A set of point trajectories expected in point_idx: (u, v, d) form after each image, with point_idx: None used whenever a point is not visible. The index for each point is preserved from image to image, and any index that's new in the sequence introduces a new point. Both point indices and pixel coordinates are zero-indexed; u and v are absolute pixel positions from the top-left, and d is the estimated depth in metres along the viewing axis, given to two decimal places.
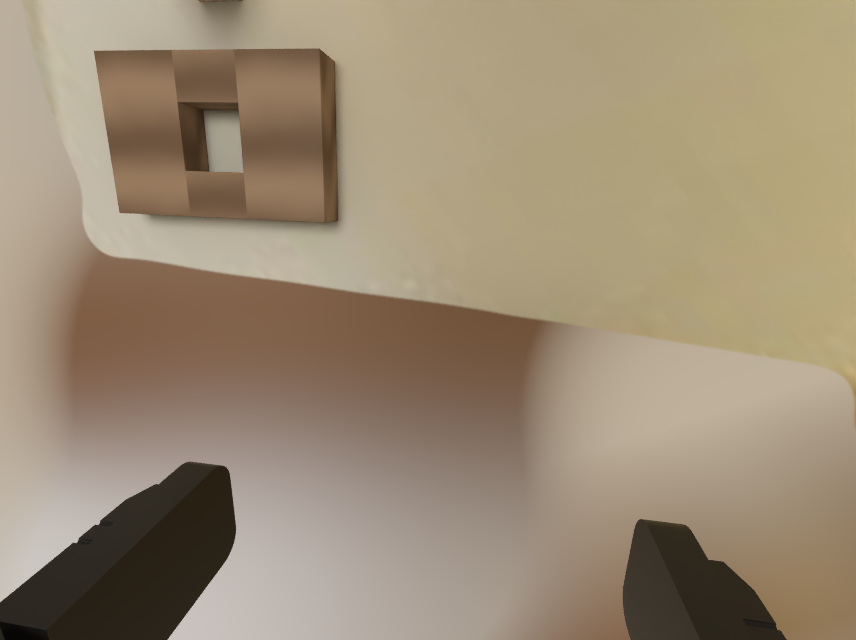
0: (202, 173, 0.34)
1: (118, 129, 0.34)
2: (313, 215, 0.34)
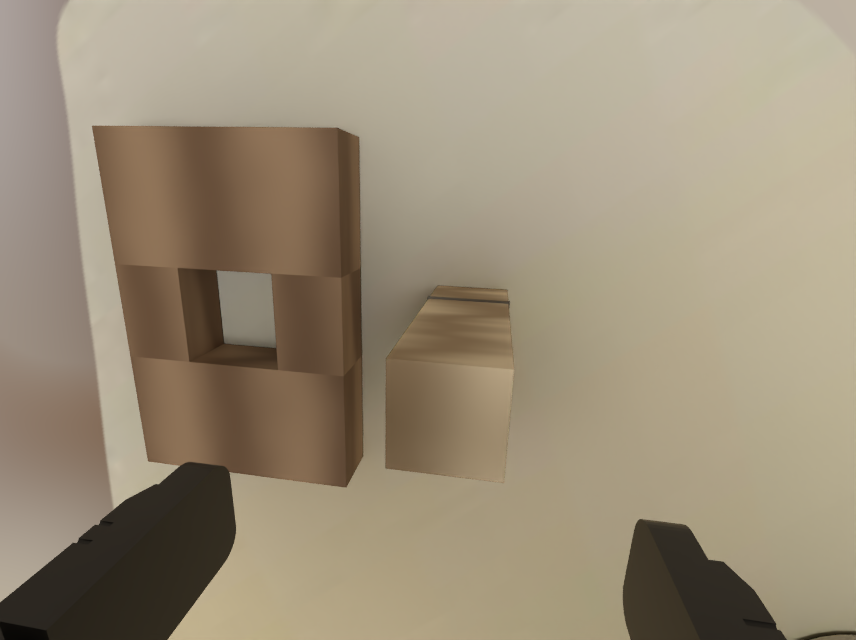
0: (178, 296, 0.22)
1: (221, 152, 0.20)
2: (153, 449, 0.25)
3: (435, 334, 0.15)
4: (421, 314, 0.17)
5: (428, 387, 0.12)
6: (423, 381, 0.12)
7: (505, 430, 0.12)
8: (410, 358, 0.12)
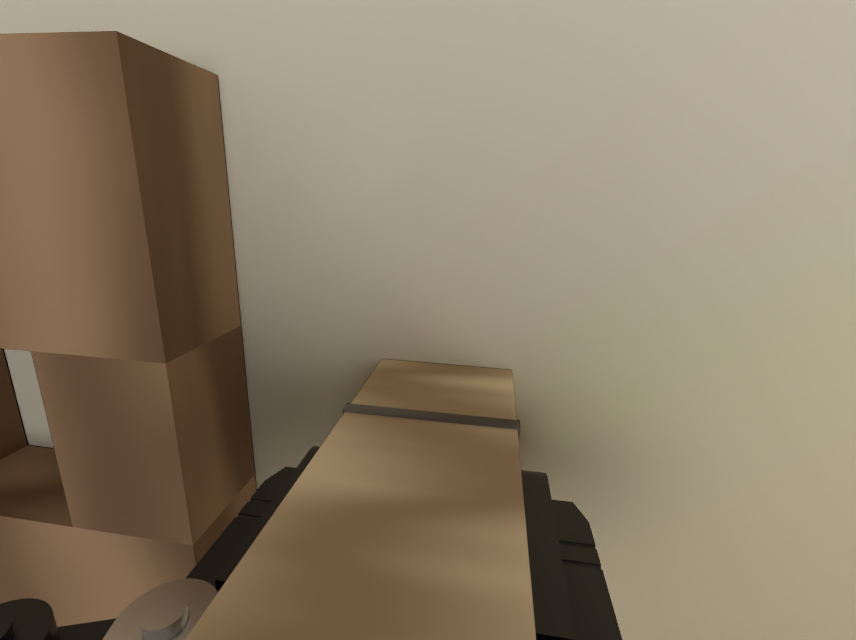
0: None
1: None
2: None
3: None
4: (291, 503, 0.06)
5: None
6: None
7: None
8: None
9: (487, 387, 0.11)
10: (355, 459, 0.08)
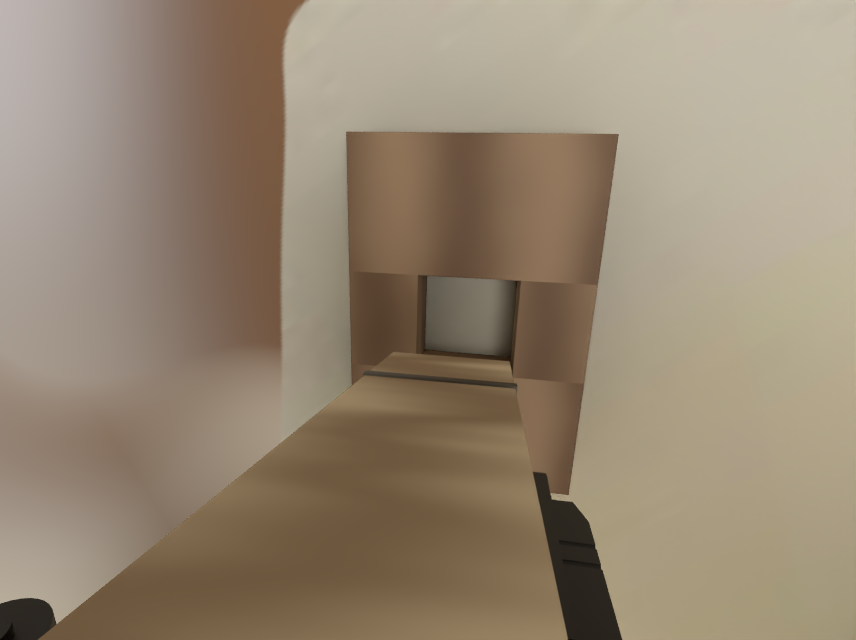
0: (414, 303, 0.22)
1: (485, 158, 0.19)
2: None
3: (325, 484, 0.05)
4: (327, 412, 0.08)
5: None
6: None
7: None
8: None
9: (488, 368, 0.12)
10: (377, 396, 0.09)
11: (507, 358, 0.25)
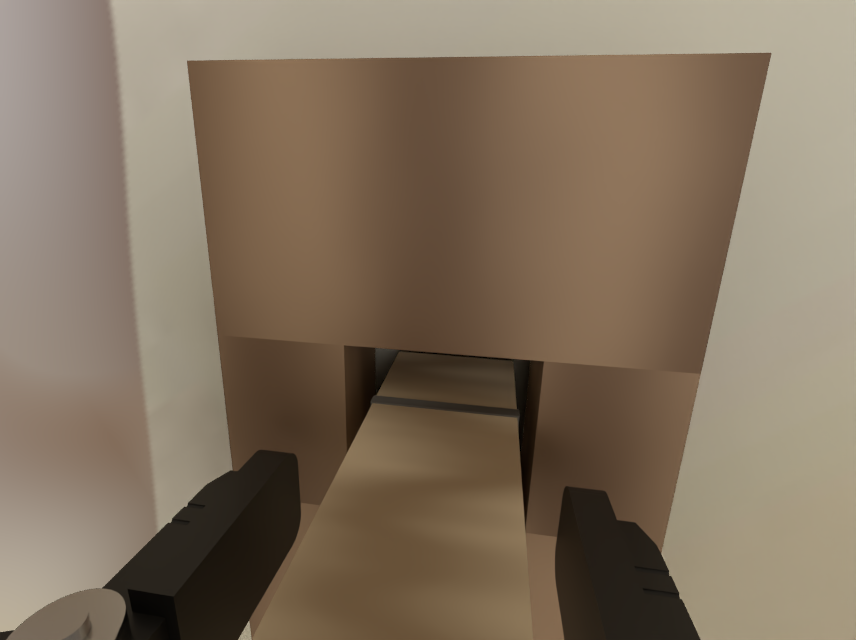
0: (340, 396, 0.12)
1: (472, 114, 0.09)
2: None
3: (344, 613, 0.06)
4: (340, 482, 0.08)
5: None
6: None
7: None
8: None
9: (491, 378, 0.12)
10: (385, 445, 0.09)
11: None
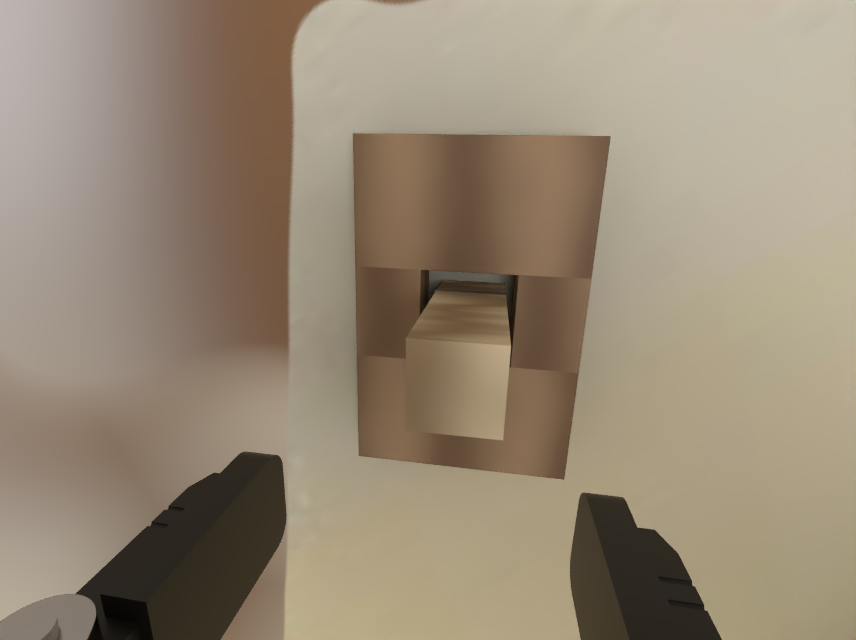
0: (417, 297, 0.23)
1: (485, 159, 0.21)
2: (367, 444, 0.26)
3: (444, 320, 0.17)
4: (430, 304, 0.20)
5: (440, 361, 0.15)
6: (436, 356, 0.15)
7: (504, 396, 0.15)
8: (425, 338, 0.15)
9: (493, 287, 0.24)
10: (446, 299, 0.21)
11: None
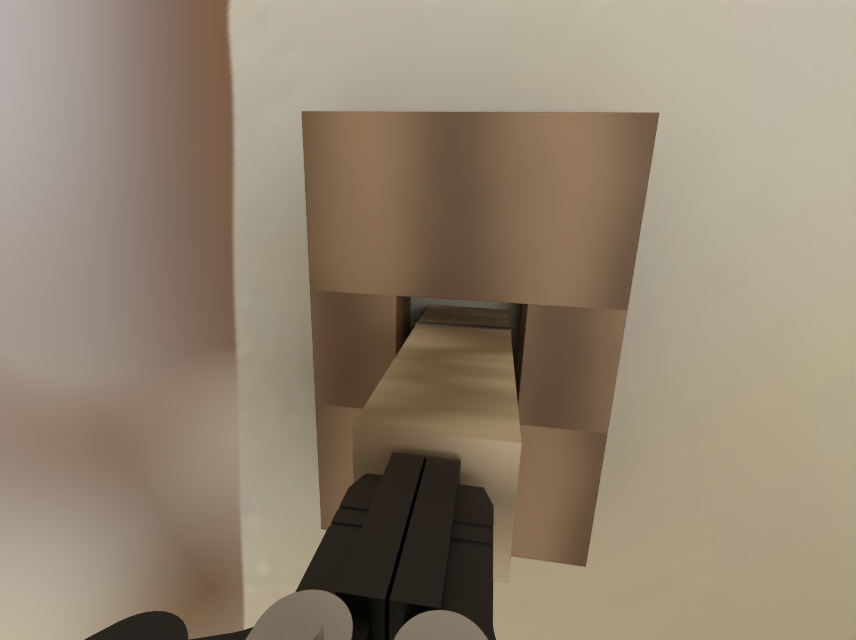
0: (392, 331, 0.17)
1: (482, 146, 0.15)
2: (331, 515, 0.20)
3: (420, 381, 0.12)
4: (405, 348, 0.14)
5: None
6: None
7: (509, 518, 0.09)
8: (384, 425, 0.09)
9: (493, 316, 0.18)
10: (429, 338, 0.15)
11: None
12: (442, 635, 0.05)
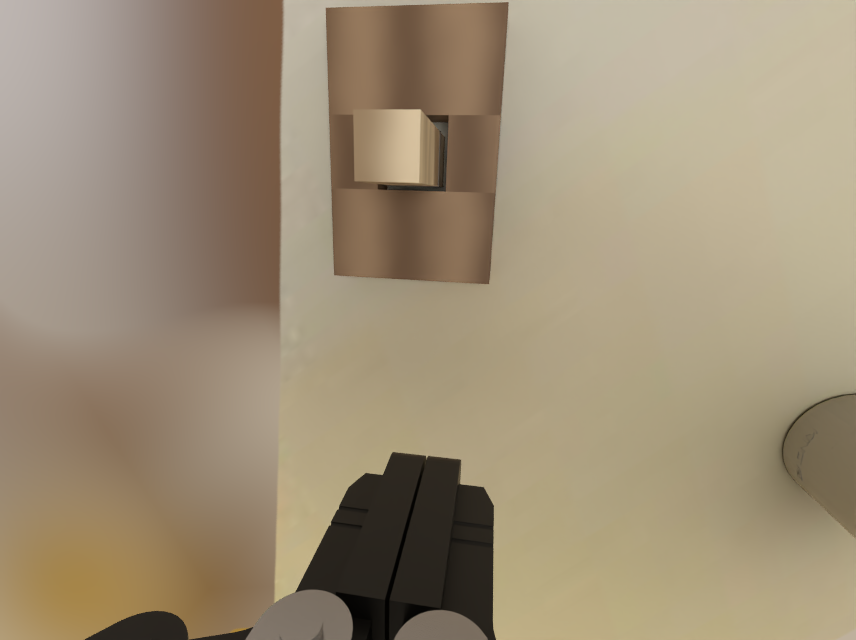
0: None
1: (421, 24, 0.28)
2: (340, 264, 0.34)
3: None
4: None
5: (375, 125, 0.23)
6: (373, 121, 0.23)
7: (418, 148, 0.23)
8: (366, 109, 0.23)
9: None
10: None
11: None
12: (442, 635, 0.05)
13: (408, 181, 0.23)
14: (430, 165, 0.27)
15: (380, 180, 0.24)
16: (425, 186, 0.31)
